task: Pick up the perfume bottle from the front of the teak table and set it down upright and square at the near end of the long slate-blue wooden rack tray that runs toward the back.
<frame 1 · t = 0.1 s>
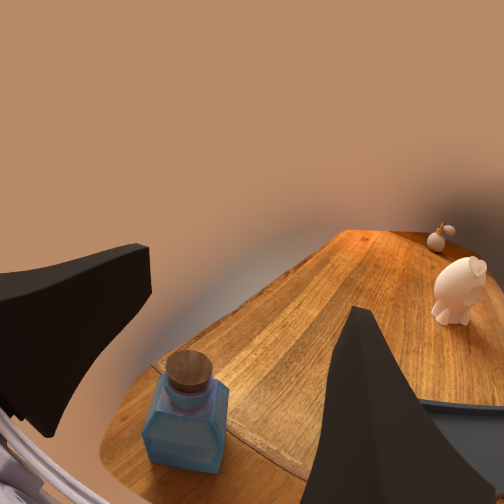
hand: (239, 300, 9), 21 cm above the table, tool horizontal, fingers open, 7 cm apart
perfume bottle: (188, 443, 22), on the table
perfume bottle 2: (435, 252, 93), on the table
rack tray: (451, 457, 20), on the table
figurine: (444, 314, 52), on the table
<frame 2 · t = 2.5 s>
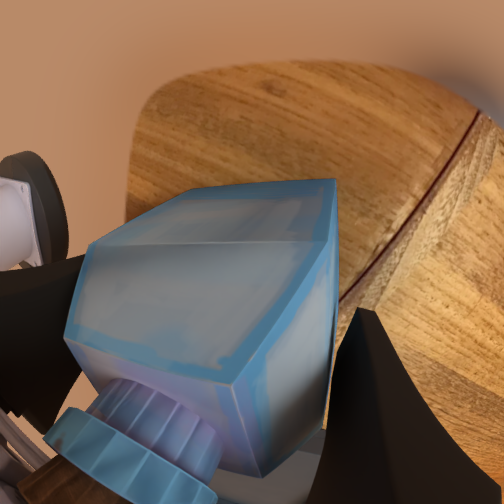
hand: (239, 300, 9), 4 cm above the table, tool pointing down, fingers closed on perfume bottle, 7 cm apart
perfume bottle: (268, 250, 13), on the table, touching gripper
rack tray: (259, 481, 26), on the table
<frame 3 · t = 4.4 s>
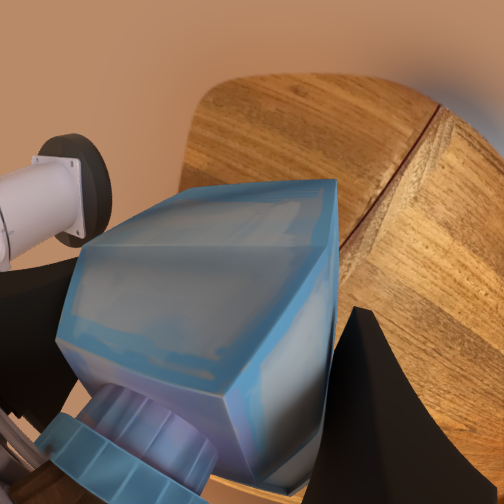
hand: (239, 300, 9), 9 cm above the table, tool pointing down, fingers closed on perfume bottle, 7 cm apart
perfume bottle: (267, 251, 12), point 6 cm above the table, touching gripper
rack tray: (272, 444, 31), on the table
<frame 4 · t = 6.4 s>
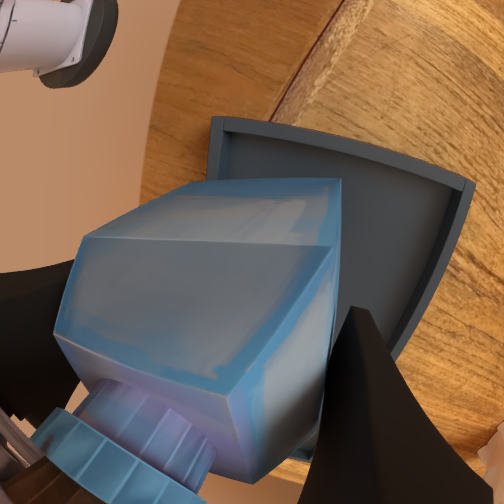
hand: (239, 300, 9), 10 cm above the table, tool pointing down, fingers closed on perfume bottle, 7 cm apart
perfume bottle: (268, 248, 12), point 7 cm above the table, touching gripper
rack tray: (291, 353, 24), on the table
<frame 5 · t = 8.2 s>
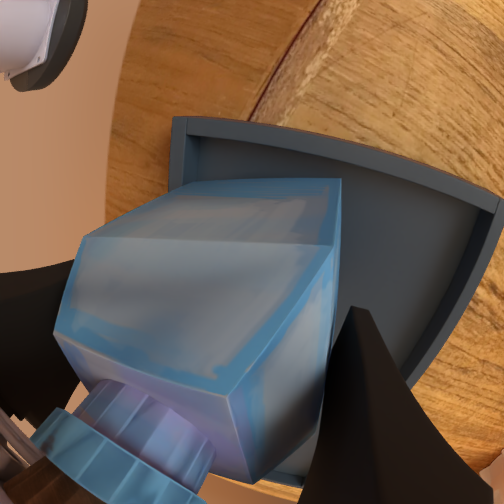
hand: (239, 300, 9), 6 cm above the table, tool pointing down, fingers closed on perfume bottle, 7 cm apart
perfume bottle: (268, 248, 12), point 3 cm above the table, touching gripper
rack tray: (280, 389, 20), on the table
when the fingers open (4 cm above the table, at t = 10.1 s): perfume bottle stays where it is, resting on rack tray.
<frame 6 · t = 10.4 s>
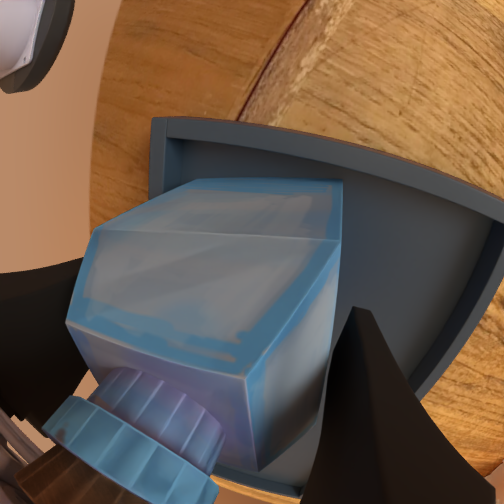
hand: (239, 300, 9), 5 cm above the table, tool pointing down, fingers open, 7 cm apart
perfume bottle: (269, 245, 13), point 1 cm above the table, touching rack tray
rack tray: (275, 404, 19), on the table
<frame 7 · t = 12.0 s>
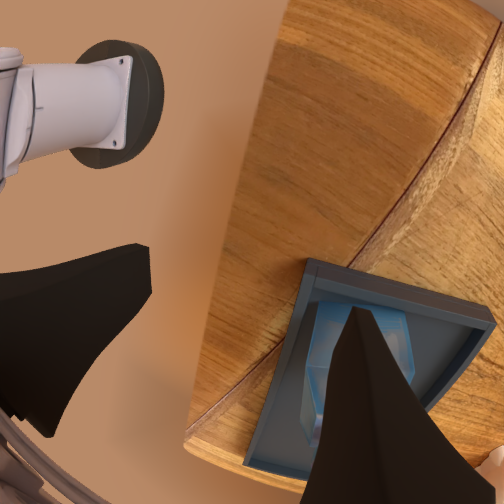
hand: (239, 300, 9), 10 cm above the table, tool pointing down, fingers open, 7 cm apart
perfume bottle: (356, 335, 20), point 1 cm above the table, touching rack tray
rack tray: (334, 417, 26), on the table
figurine: (500, 454, 23), on the table
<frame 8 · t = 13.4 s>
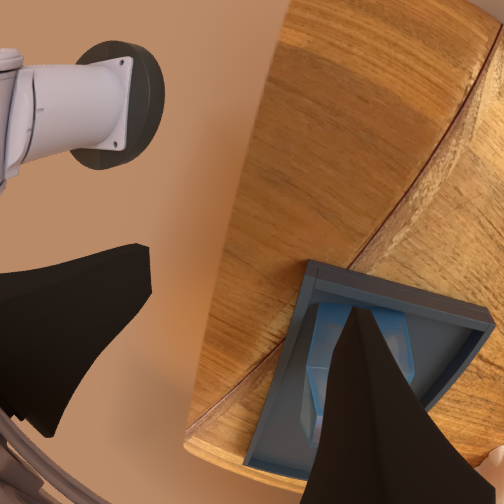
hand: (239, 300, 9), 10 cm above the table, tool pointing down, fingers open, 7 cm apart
perfume bottle: (356, 336, 20), point 1 cm above the table, touching rack tray
rack tray: (333, 417, 26), on the table
figurine: (500, 454, 23), on the table
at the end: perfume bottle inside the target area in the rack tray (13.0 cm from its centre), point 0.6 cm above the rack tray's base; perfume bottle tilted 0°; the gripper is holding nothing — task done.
